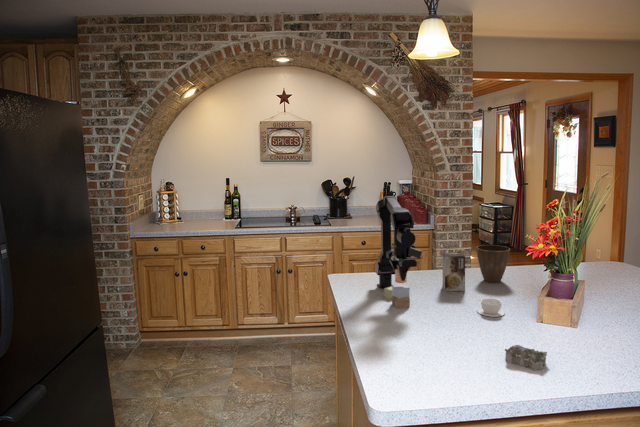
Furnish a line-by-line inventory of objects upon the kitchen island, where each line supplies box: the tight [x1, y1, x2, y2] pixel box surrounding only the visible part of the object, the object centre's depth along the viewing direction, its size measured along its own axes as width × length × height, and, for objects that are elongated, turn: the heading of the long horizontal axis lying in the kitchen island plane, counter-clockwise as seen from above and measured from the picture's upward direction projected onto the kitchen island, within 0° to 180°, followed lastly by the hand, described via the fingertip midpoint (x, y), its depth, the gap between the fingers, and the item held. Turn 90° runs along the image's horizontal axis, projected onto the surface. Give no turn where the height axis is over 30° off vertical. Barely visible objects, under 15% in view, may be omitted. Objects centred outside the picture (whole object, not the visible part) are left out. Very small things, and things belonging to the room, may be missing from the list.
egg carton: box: [504, 344, 548, 371], centre depth 136 cm, size 11×8×4 cm
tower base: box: [391, 295, 411, 309], centre depth 187 cm, size 6×6×4 cm
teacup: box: [476, 298, 505, 318], centre depth 177 cm, size 10×10×5 cm
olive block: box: [383, 287, 392, 300], centre depth 198 cm, size 4×4×4 cm
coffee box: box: [442, 252, 466, 292], centre depth 207 cm, size 9×6×16 cm
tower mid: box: [392, 283, 410, 299], centre depth 187 cm, size 5×5×4 cm
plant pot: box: [476, 244, 511, 284], centre depth 218 cm, size 15×15×16 cm
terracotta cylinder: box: [394, 268, 408, 284], centre depth 186 cm, size 5×5×5 cm
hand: (400, 279), depth 186 cm, fingers closed on terracotta cylinder, 5 cm apart
